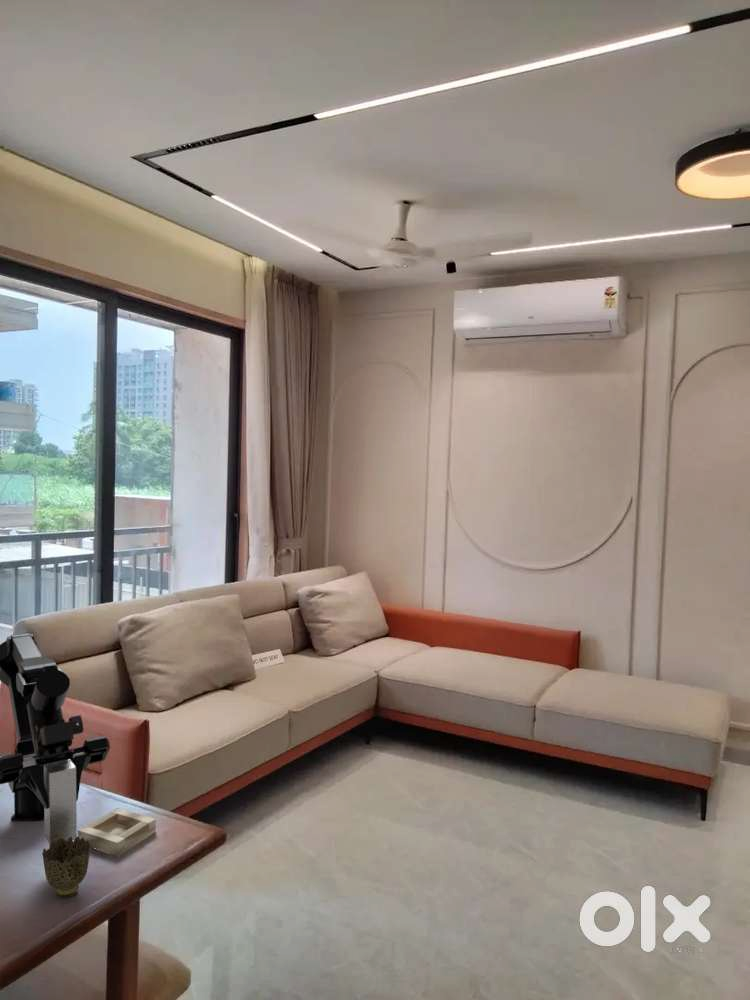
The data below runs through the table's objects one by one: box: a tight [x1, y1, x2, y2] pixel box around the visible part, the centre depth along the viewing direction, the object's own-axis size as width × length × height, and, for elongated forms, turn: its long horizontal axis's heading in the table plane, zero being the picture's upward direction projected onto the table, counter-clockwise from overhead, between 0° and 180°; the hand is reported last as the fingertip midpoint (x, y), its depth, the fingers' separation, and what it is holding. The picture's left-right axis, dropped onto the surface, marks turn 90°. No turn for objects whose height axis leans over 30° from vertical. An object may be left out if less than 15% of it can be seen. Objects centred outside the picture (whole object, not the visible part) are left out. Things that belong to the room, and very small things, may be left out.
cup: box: [41, 836, 91, 899], centre depth 123 cm, size 8×7×8 cm
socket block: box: [77, 807, 157, 857], centre depth 141 cm, size 10×10×3 cm
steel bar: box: [44, 759, 78, 846], centre depth 130 cm, size 4×4×13 cm
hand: (62, 804), depth 129 cm, fingers closed on steel bar, 4 cm apart
